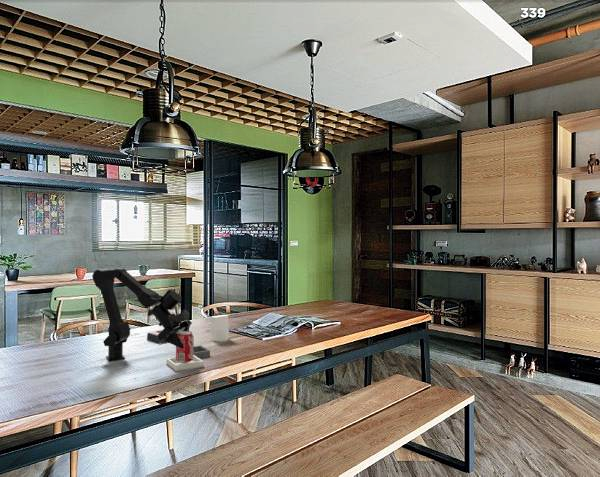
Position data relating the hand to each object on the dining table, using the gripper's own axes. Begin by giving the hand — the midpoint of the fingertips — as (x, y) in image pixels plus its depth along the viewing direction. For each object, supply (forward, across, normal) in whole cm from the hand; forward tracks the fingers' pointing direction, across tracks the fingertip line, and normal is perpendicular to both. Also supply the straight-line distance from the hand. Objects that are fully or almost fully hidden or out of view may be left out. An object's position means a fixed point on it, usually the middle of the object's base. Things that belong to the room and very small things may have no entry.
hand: (187, 345), depth 180 cm
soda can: (+4, 0, +6) cm, 7 cm away
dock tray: (+5, 0, +7) cm, 8 cm away
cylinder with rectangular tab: (+2, +44, +10) cm, 46 cm away
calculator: (-16, +37, +30) cm, 50 cm away
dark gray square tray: (+3, +15, +9) cm, 17 cm away
